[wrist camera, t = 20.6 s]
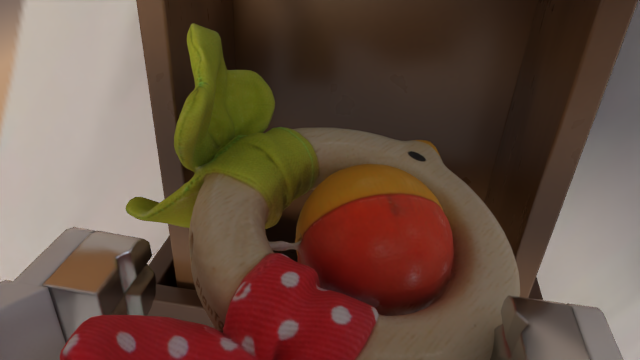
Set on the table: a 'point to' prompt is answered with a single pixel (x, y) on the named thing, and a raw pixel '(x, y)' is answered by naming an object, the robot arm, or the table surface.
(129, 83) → the table surface
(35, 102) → the table surface
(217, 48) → the bird rattle
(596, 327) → the robot arm
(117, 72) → the table surface
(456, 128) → the drawer
